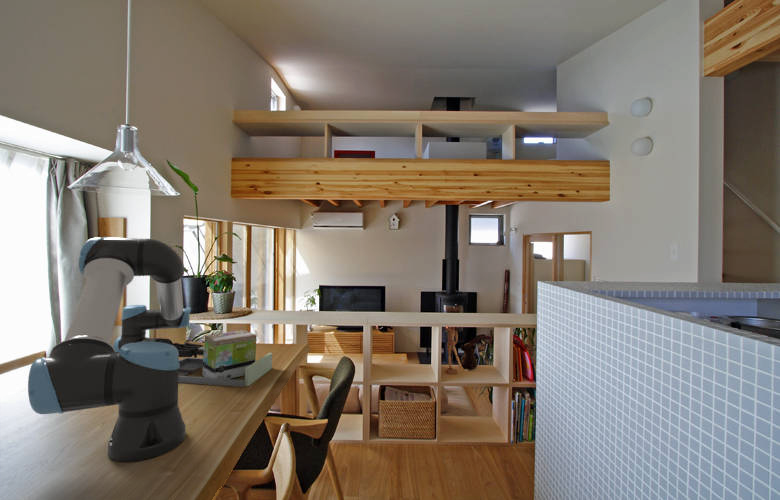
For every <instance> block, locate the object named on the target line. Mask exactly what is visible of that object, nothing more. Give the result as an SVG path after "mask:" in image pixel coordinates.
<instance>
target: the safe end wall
mask: <svg viewBox="0 0 780 500" xmlns="http://www.w3.org/2000/svg"><path fill="white" fill-rule="evenodd" d="M255 361H256V362H254V363H253V364H251V365H250V366H248V367H246V368H245V375H244V380H245V386H244V387H250V385H252V384H254V382H256V381H257V380H259V379H260V378H261V377H262V376H264V375H265V374H266V373H268V372H269V371H270V370H272V369H273V366H272V365H273V353H272V352H269V353H266V354H265V355H264V356H262V357H261V358H259V359H258V360H255Z"/></svg>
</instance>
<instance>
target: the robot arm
mask: <svg viewBox="0 0 780 500" xmlns="http://www.w3.org/2000/svg"><path fill="white" fill-rule="evenodd" d="M78 269H79V272H80V273H81V274H82V275H83V277H84V278H85V279H86V281H85V284H84V288H83V290H82V291H81V292H82V293H81V296H80V298H79V301H78V304H77V307H76V309H75V312H74V314H73V317H72V320H71V322H70V324H69V328H68V330H67V333H66V334H65V338H64V340H62V341H61V342H58V343H57V344H56V345H54V346H53V347H52V349H51V350H50V353H49V356H47V357H46V356H45V357H44V356H42V357H40V358H37V359H35V360H34V361H33V362H32V364H31V366H30V369H29V372H28V377H27V378H28V379H27V394H28V395H27V396H28V402H29V404H30V406H31V409H32V410H33V412H34V413H36V414H38V415H49V414H50V415H51V414H61V415H62V414H64V413H67V412H74V411H75V412H76V411H81V410H88V409H95V408H102V407H104V408H105V407H111V406H116V405H117V406H118V416H117V420H116V422H115V425H114V427H113V430H112V432H111V436H110V438H109V440H108V442H107V455H108V458H109V459H111V460H113V461H116V462H124V463H125V462H126V463H127V462H138V461H139V462H140V461H143V460H147V459H152V458H155V457H158V456H161V455H163V454H166V453H168V452H170V451H172V450H174V449H175V448H177V447H178V446H179V445H180V444H181V443H182V442H184V440H185V438H186V424H185V422H184V420H183V419H184V418H183V417H182V416H183V415H182V413H181V410H180V408H179V382H178V369H179V367H180V363H179V360H180V359H179V358H188V357H192V358H198V357H199V356H204V344H203V345H202V344H198V343H192V342H191V343H190V342H188V341H185V342H183V343H179V342H174V343H173V341H172V339H169V338H162V337H146V335H147V331H151V330H166V329H167V330H168V329H182V328H187V327H189V325H190V316H191V315H190V314H191V313H190V312H191V311H190V309H189V308H184V299H183V298H184V297H183V288H182V287H183V286H182V285H183V283H182V278H183V277H184V274H185V266H184V262H183V259H182V258H181V256H180V255H179V254H178V252H177V251H176V250H175V249H174V248H172V247H171V246H170V245H168V244H166V243H165V242H164V241H160V240H158V239H154V238H134V237H133V238H132V237H131V238H130V237H112V236H111V237H109V236H103V237H93V238H89V239H88V240H86V241H85V242H84V243H83V245H82V247H81V249H80V256H79V258H78ZM134 277H151V279H152V280H153V281H154V282H155V286H156V293H157V300H158V306H159V309H147V305H145V304H131V305H125V306H124V307H123V308H122V314H121V315H122V316H121V335H120V336H119V337H118V338H116V340H114V344H113V345H111V341H112V336H113V333H114V329H115V325H116V321H117V317H118V314H119V310H120V306H121V304H122V303H121V302H122V298H123V295H124V291H125V287H126V286H127V285H128V286H129V285H130V284H131V282H132V281H134Z"/></svg>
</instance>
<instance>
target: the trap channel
mask: <svg viewBox="0 0 780 500" xmlns="http://www.w3.org/2000/svg"><path fill="white" fill-rule="evenodd" d="M256 361H257V360H255V362H256ZM179 363H180V367H179V369H178V384H179V383H180V384H181V383H183V384H193V385H195V384H196V385H206V386H207V385H209V386H220V387H221V386H223V387H225V386H226V387H237V388H244V387H246V386H245V379H238V378H237V379H235V378H231V379H223V378H208V377H204V376H194V375H193V376H190V374H192V373H194V372H196V371H198V370H200V369H203V357H197V358H194V357H193V356H192V357H182V358H181V359H179Z"/></svg>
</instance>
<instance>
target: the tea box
mask: <svg viewBox="0 0 780 500" xmlns="http://www.w3.org/2000/svg"><path fill="white" fill-rule="evenodd" d="M257 336H258V335H257V334H255V333H253V332H250V331H248V330H246V329H241V330H235V331H234V330H233V331H228V332H221V333H220V332H219V333H214V334H207V335H204V341H203V343H204V344H203V347H204V356H203V357H202V358H203V367H202V374H201V375H202V377H208V378H223V379H235V378H238V377H243V376H245V368H246V367H248V366H250V365H251V364H253V363H254V362H255V361H256V355H257V354H256V353H257V352H256V351H257Z"/></svg>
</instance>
